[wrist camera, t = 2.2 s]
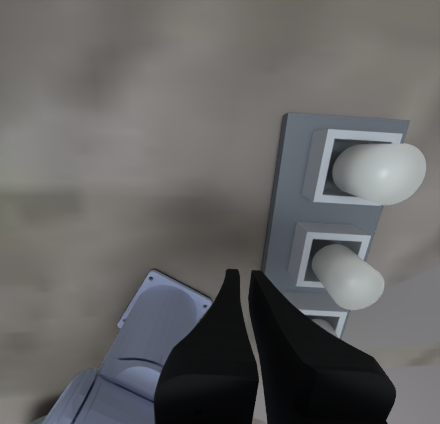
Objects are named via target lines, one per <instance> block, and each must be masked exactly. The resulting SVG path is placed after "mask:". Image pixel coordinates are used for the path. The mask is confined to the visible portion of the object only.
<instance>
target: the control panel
mask: <svg viewBox="0 0 440 424" xmlns="http://www.w3.org/2000/svg"><path fill="white" fill-rule="evenodd" d="M409 123H410V120H396V119H380V118H365V117H349V116H333V115H317V114H301V113H287V114H285V115H283V120H282V127H281V134H280V141H279V148H278V156H277V163H276V170H275V177H274V184H273V191H272V199H271V206H270V213H269V220H268V227H267V234H266V242H265V249H264V256H263V263H262V270H261V271H262V272H263V273H264V274H265V275H266V276H267V278H268V279H269V280H270V281H271V282H272V283H273V285H274V286H275V287H276V288H277V289H278V290H279V291H280V292H281V293H282V294H283V295H284V296H285V298H287V299H288V300H289V301H290V302H291V303H292V304H293V305H294V306H295V307H296V308H297V309H298V310H300V311H301V312H302V313H303V314H304V315H306V316H307V317H308V318H309V319H311V320H312V319H321V320H325V321H327V322H328V323H329V324H330V325H331V326H332V328H333V329H334V331H335V333H336V334H337V336H338V338H339V339H341V338H342V335H343V332H344V329H345V326H346V323H347V319H348V316H349V313H350V310H348V309H345V308H342V307H340V306H339V305H338V304H336V302H335V301H334V300H333V298H332V297H331V296H330V294H329V293H328V291H327V290H326V289H325V287H324V286H323V285H322V283H321V282H320V280H319V279H318V278H317V276H316V275H315V274H314V272H313V270H312V260H313V257H314V256H315V254H316V253H317V252H318V251H319V250H320V249H322V248H323V247H325V246H328V245H331V244H340V245H344V246H346V247H348V248H349V249H350V250H351V251H353V252H354V253H355V254H356V255H358V256H359V257H360V258H361V259H363V260H364V261H365V262H366V259H367V256H368V253H369V250H370V247H371V243H372V240H373V237H374V234H375V231H376V227H377V224H378V221H379V218H380V215H381V212H382V208H383V205H380V204H377V203H374V202H371V201H368V200H366V199H363V198H360V197H358V196H355V195H352V194H349V193H347V192H344V191H342V190H340V189H339V188H338V187H337V186H336V185H335V183H334V181H333V178H332V169H333V165H334V163H335V161H336V159H337V158H338V156H339V155H340V154H341V153H342V152H343V151H344V150H346V149H347V148H349V147H351V146H354V145H359V144H403V142H404V139H405V135H406V132H407V129H408V126H409Z"/></svg>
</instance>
